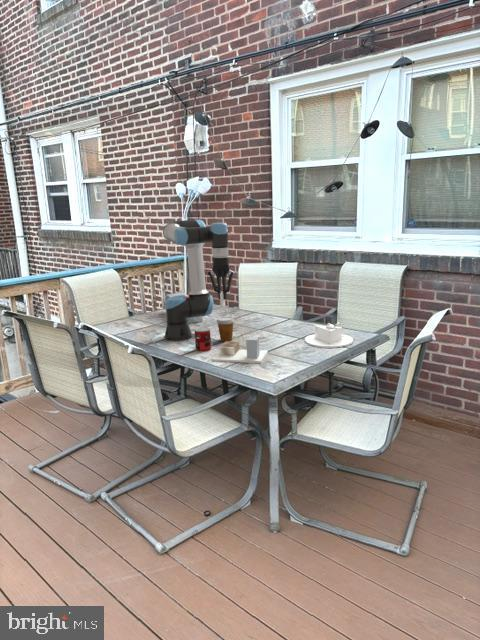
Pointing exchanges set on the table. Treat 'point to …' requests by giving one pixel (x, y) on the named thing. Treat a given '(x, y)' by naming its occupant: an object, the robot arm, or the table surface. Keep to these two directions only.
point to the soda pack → (190, 320)
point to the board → (240, 357)
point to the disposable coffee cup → (225, 328)
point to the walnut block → (229, 348)
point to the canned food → (202, 339)
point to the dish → (328, 337)
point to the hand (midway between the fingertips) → (222, 306)
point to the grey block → (252, 347)
